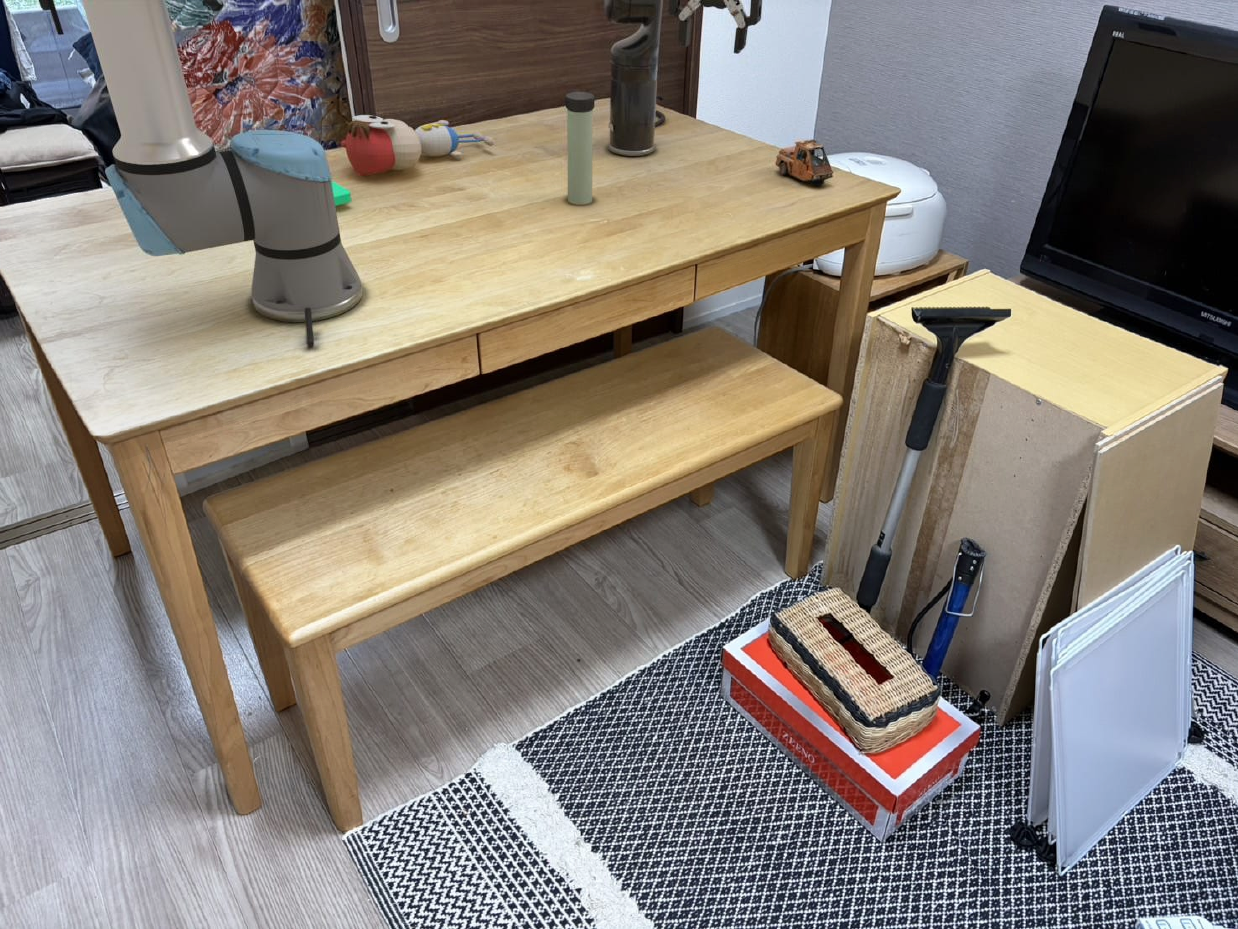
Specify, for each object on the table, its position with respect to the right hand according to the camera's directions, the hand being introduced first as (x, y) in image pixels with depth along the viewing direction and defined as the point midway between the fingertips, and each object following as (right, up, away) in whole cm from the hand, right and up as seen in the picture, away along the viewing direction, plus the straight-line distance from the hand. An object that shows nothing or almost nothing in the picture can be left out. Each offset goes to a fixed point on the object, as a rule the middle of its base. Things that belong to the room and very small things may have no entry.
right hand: (711, 48), depth 146 cm
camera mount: (-68, -19, +18) cm, 73 cm away
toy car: (+21, -10, +34) cm, 42 cm away
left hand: (-95, +3, 0) cm, 95 cm away
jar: (-22, -18, +22) cm, 36 cm away
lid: (-21, -3, +12) cm, 24 cm away
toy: (-54, -6, +36) cm, 65 cm away
